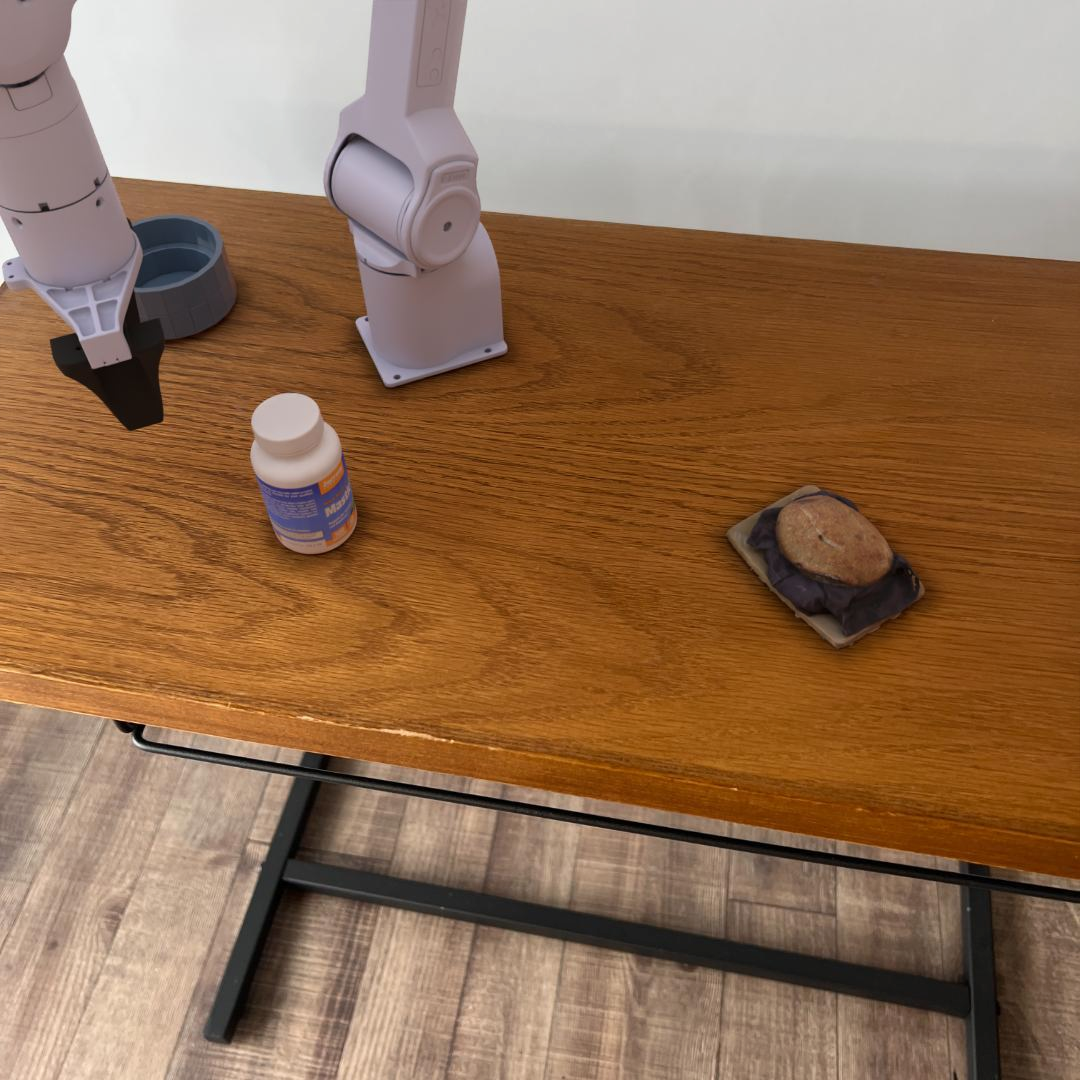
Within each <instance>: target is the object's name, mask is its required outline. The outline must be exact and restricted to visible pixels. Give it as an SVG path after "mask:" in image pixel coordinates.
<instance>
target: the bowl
mask: <svg viewBox="0 0 1080 1080" xmlns="http://www.w3.org/2000/svg"><path fill="white" fill-rule="evenodd" d="M131 224H132V226H133V230H134V233H135V234H136V235H137V238H138V240H139V242H140V245H141V248H142V252H143V258H142V263H141V266H140V269H139V272H138V275H137V279H136V282H135V285H134V292H135V298H136V302H137V307H138V312H139V317H140V323H141V322H145V321H149V320H153V319H156V318H160V322H161V325H162V329H163V332H164V337H165V341H166V340H177V339H178V340H179V339H182V338H188V337H191V336H193V335H197V334H199V333H201V332H203V331H206V330H207V329H209V328H211V327H213V326H214V325H216V324H218V323H219V322H220V321H221V320H222V319H223V318H225V317H226V316H227V315H228V314H229V313H230V311H231V310H232V308H233V306H234V305H235V303H236V301H237V294H238V287H237V284H236V281H235V277H234V273H233V270H232V267H231V263H230V260H229V257H228V253H227V249H226V246H225V242H224V240H223V238H222V235H221V232H220V230H219V229H217V227H216V226H214V225H213V224H212V223H211V222H209V221H207V220H204V219H201V218H199V217H198V216H197V217H196V216H193V215H186V214H176V213H175V214H161V215H160V214H159V215H158V214H157V215H154V216H149V217H146V218H145V217H144V218H141V219H138V220H135V221H133V222H131Z"/></svg>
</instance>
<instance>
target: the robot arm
mask: <svg viewBox="0 0 1080 1080" xmlns="http://www.w3.org/2000/svg"><path fill="white" fill-rule="evenodd" d="M468 1H469V0H372V6H371V17H370V18H371V19H370V30H369V31H370V32H369V44H368V55H367V66H366V67H367V68H366V80H365V90H364V94H362V95H361V96H359V98H356V99H355V100H353V101H352V102H350V103H349V104H348V105H346V106H345V107H343V108H342V109H341V110H340V111H339V115H338V116H339V117H338V128H337V134H336V138H335V140H334V143H333V146H332V148H331V150H330V152H329V154H328V157H327V158H326V162H325V165H324V170H323V176H322V177H323V180H322V182H323V183H322V184H323V190H324V193H325V194H324V195H325V196H326V199H327V201H328V202H329V204H330V205H331V207H332V208H334V210H336V211H337V212H339V213H340V214H342V215H343V216H345V217H347V222H348V228H349V233H350V234H352V235H353V243H354V248H355V254H356V261H357V265H358V271H359V277H360V283H361V287H362V293H363V297H364V303H365V310H366V314H367V315H364V316H360V317H358V318H357V319H356V320H355V327H356V329H357V332H358V333H359V336H360V338H361V339H362V341H363V343H364V345H365V348H366V350H367V352H368V353H369V355H370V358H371V360H372V362H373V364H374V366H375V368H376V369H377V372H378V374H379V376H380V378H381V380H382V382H383V384H384V386H385V387H387V388H394V387H397V386H398V387H399V386H402V385H405V384H409V383H412V382H415V381H418V380H422V379H425V378H428V377H432V376H435V375H439V374H443V373H446V372H449V371H452V370H456V369H459V368H463V367H465V366H466V367H467V366H469V365H472V364H476V363H480V362H482V361H487V360H489V359H494V358H497V357H499V356H503V355H505V354H507V352H508V344H507V343H506V341H505V339H504V323H503V322H504V321H503V305H502V304H503V303H502V289H501V287H502V286H501V276H500V269H499V263H498V259H497V255H496V252H495V248H494V246H493V243H492V241H491V238H490V235H489V234H488V231H487V230H486V227H485V226H484V224H483V223H482V222H481V215H482V202H481V197H480V193H479V191H478V190H479V189H478V187H477V184H478V183H477V173H478V166H479V155H478V153H477V150H476V148H475V147H474V144H473V143H472V141H471V139H470V138H469V135H468V134H467V132H466V130H465V128H464V126H463V125H462V123H461V120H460V119H459V117H458V115H457V113H456V110H455V108H454V106H455V97H456V92H457V91H456V89H457V83H458V76H459V68H460V60H461V54H462V53H461V52H462V45H463V37H464V30H465V22H466V15H467V8H468ZM77 2H78V0H0V218H1V221H2V223H3V225H4V227H5V228H6V231H7V233H8V235H9V237H10V239H11V241H12V243H13V246H14V247H15V251H17V254H18V256H17V257H13V258H10V259H6V260H5V261H4V262H2V266H1V269H2V275H3V280H4V282H5V284H6V285H7V288H8V289H9V290H10V291H13V292H19V291H23V290H31V291H34V292H35V293H36V294H37V296H39V297H40V298H41V299H42V300H43V301H44V302H45V303H46V304H47V306H49V308H50V309H52V310H53V312H55V313H56V314H57V316H59V317H60V318H61V319H62V320H63V321H64V322H65V324H66V325H68V327H70V329H72V331H73V333H68V334H65V335H61V336H58V337H53V338H50V339H49V345H50V350H51V356H52V359H53V362H54V363H55V365H56V367H57V369H58V370H59V372H61V373H62V375H63V376H65V377H66V378H68V379H70V380H73V381H75V382H77V383H78V384H80V385H82V386H84V387H85V388H86V389H88V390H89V391H91V393H93V394H94V395H95V396H96V397H97V398H98V399H99V400H100V401H101V402H102V403H103V404H104V406H105V407H107V409H108V410H109V411H110V413H111V414H112V415H113V416H114V417H115V418H116V419H117V421H118V422H119V423H120V424H121V425H122V426H123V427H124V428H125V429H126V430H127V431H128V432H132V431H136V430H140V429H144V428H148V427H150V426H151V427H152V426H153V425H157V424H161V423H163V422H164V420H165V419H164V418H165V417H164V415H165V413H164V402H163V396H162V391H161V383H160V365H161V364H160V363H161V359H162V356H163V354H164V351H165V341H166V340H165V337H164V332H163V329H162V325H161V322H160V318H156V319H153V320H149V321H145V322H141V323H140V317H139V312H138V307H137V302H136V298H135V292H134V285H135V282H136V279H137V275H138V272H139V269H140V266H141V263H142V258H143V252H142V248H141V245H140V242H139V240H138V238H137V235H136V234H135V233H134V230H133V226H132V224H131V223H132V221H131V220H130V218H128V217H127V216H126V213H125V210H124V208H123V205H122V202H121V200H120V196H119V194H118V191H117V189H116V187H115V183H114V181H113V178H112V176H111V173H110V170H109V168H108V165H107V163H106V160H105V157H104V154H103V152H102V148H101V147H100V144H99V140H98V137H97V135H96V134H95V130H94V128H93V125H92V123H91V120H90V117H89V113H88V111H87V109H86V106H85V104H84V101H83V99H82V96H81V93H80V90H79V88H78V85H77V82H76V80H75V78H74V77H73V76H72V72H71V70H70V68H69V65H68V61H67V59H66V57H65V54H64V53H65V52H66V50H67V48H68V44H69V41H70V37H71V32H72V14H73V13H72V12H73V9H74V6H75V4H76V3H77Z"/></svg>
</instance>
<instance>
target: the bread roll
mask: <svg viewBox="0 0 1080 1080" xmlns="http://www.w3.org/2000/svg"><path fill="white" fill-rule="evenodd" d="M725 536H726V537H727V539H728V541H729V543H730V544H731V546H732V547H733V549H734V550H735V551H737V553H738V555H740V557H742V560H743V561H745V563H746V565H748V566H749V567H750V571H752V570H753V572H754V573H755V574H756V575H758V579H759V580H760V581H761V582H762V583H765V585H766V586H767V587H768V588H769V591H770V592H773V594H775V595H776V596H777V597H778V598H779V599H780V600H781V602H782V603H785V604H786V605H787V607H789V609H790V610H792V611H794V616H795V618H798V619H801V620H804V622H805V623H806V624H807V626H809V627H810V628H812V629H813V630H814V631H815V632H816V633H817V634H818V635H819V636H820V637H821V638H822V640H823V641H824V640H825V641H827V643H829V644H830V645H832V646H833V647H834V648H836V649H837V650H839V649H843V648H846V647H848V646H853V644H854V643H855V642H857V641H859V640H862V638H863V637H865V636H866V635H867V634H871V633H874V632H875V631H877V630H879V629H881V625H882V624H884V623H885V622H887V621H888V620H895V619H896V618H898V617H899V616H900V615H901V614H902V611H905V610H906V609H907V608H909V607H910V606H912V605H913V604H914V603H916V602H919V601H920V600H921V599H922V598H924V597H925V592H926V590H925V586H924V585H923V584H922V582H921V580H920V578H919V576H918V575H917V574H916V573H915V571H914V569H913V567H912V566H911V564H910V562H909V561H908V560H907V558H905V556H903V555H901V554H899V553H898V552H896V551H894V550H892V549H891V548H890V546H889V544H888V542H887V540H886V538H885V537H884V536H883V535H882V534H881V533H880V531H879V530H878V529H877V528H876V527H875V526H874V524H872V522H870V520H869V519H868V518H866V516H864V515H863V514H862V513H861V512H860V510H859V508H858V506H857V505H856V504H855V502H853V501H852V500H851V499H849V498H847V497H844V496H841V495H839V494H836V493H832V492H830V491H828V490H826V489H820V488H819V487H818V486H815V485H812V484H807V485H804V486H801V487H799V488H798V489H796V490H795V491H793V492H792V493H790V494H788V495H786V496H784V497H781V498H780V499H778V500H777V501H775V502H774V503H771V504H770V505H768V506H766V507H764V508H762V509H761V510H759V511H757V512H756V513H753V514H752V515H750V516H749V517H747V518H745V519H743V520H741V521H739V522H738V523H736V524H735V525H733V526H731V527H730V528H729V529H728V531H727V532H726V534H725Z"/></svg>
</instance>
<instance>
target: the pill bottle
mask: <svg viewBox="0 0 1080 1080" xmlns="http://www.w3.org/2000/svg"><path fill="white" fill-rule="evenodd" d="M250 423H251V429H252V432H253V437H254V440H253V441H252V445H251V448H250V455H249V456H250V464H251V467H252V471H253V473H254V476H255V479H256V481H257V484H258V488H259V491H260V493H261V496H262V499H263V503H264V505H265V508H266V510H267V515H268V516H269V521H270V523H271V526H272V529H273V532H274V533H275V536H276V537H277V540H278V541H279V542H280V543H281V544H282V545H283V546H285V547H286V548H287V549H289V550H290V551H293V552H296V553H299V554H305V555H315V554H323V553H326V552H329V551H333V550H334V549H336V548H338V547H340V546H341V545H342V544H344V543H345V542H346V541H347V540H349V538H350V537H351V535H352V534H353V533H354V531H355V528H356V526H357V521H358V511H357V506H356V501H355V498H354V493H353V490H352V485H351V481H350V477H349V473H348V468H347V464H346V461H345V455H344V452H343V447H342V444H341V440H340V437H339V435H338V433H337V431H335V429H334V428H333V427H332V426H331V425H330V424H329V423H327V422H325V421H324V417H323V416H322V412H321V410H320V407H319V405H318V404H317V402H316V401H315V400H314V399H312V398H311V397H310V396H307V395H306V394H302V393H296V392H286V393H280V394H276V395H273V396H271V397H269V398H267V399H265V400H263V401H262V402H261V403H260V404H259V405H257V407H255V409H254V411H253V413H252V416H251V420H250Z"/></svg>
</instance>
